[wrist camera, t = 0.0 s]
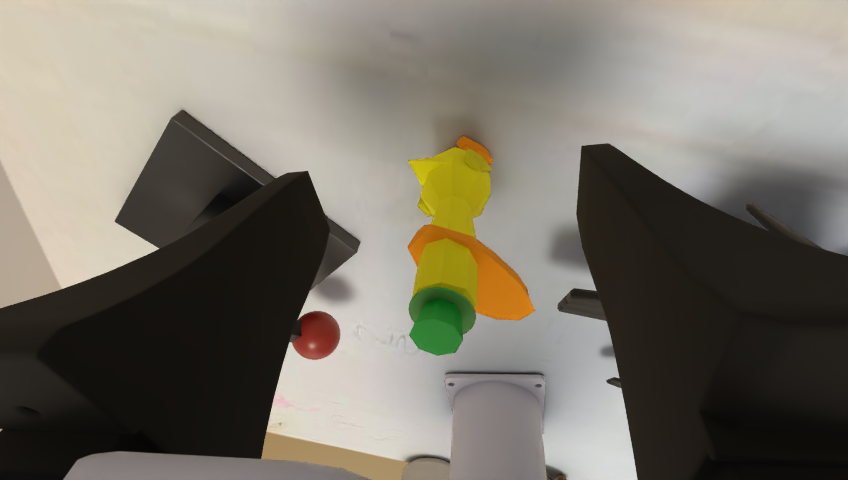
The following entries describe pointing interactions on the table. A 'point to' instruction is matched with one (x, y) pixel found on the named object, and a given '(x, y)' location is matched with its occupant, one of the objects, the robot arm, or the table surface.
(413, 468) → the beverage can
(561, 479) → the cat figurine
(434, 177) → the toy figure
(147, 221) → the bracket
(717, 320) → the robot arm
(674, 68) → the table surface
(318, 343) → the lever
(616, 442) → the table surface
